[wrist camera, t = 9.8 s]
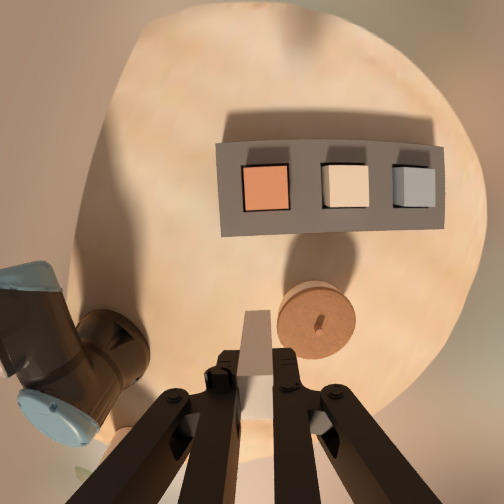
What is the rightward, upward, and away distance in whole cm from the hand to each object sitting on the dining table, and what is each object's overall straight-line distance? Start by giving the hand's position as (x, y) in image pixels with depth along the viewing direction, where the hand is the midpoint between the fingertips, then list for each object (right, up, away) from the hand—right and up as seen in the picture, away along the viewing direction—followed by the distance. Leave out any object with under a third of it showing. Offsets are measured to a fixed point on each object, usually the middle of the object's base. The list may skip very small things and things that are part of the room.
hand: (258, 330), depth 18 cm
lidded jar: (+9, -3, +28) cm, 29 cm away
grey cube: (+21, +14, +20) cm, 33 cm away
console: (+12, +14, +23) cm, 30 cm away
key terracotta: (+1, +13, +21) cm, 25 cm away
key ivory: (+11, +14, +21) cm, 27 cm away
